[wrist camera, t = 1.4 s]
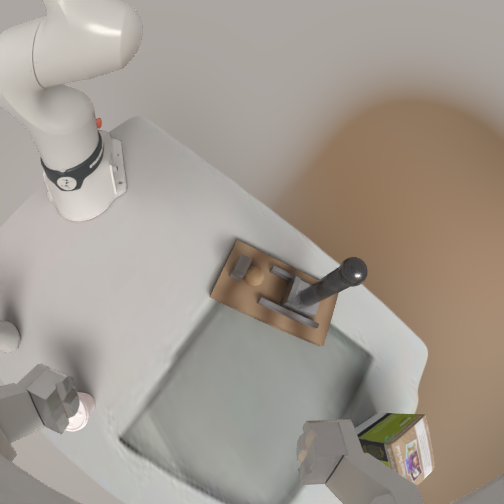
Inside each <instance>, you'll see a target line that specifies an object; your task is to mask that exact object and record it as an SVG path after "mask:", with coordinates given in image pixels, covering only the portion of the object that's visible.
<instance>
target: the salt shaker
mask: <svg viewBox="0 0 504 504" xmlns="http://www.w3.org/2000/svg"><path fill="white" fill-rule="evenodd" d="M20 341H21V338H20V335H19V333H18V330H17V329H16V327H15V326H14V325H13V324H12V323H10V322H9V321H0V350H1V351H3V352H5V353H12V352H13V351H15V350H16V349H17V348H19V344H20Z"/></svg>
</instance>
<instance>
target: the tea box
mask: <svg viewBox="0 0 504 504" xmlns="http://www.w3.org/2000/svg"><path fill="white" fill-rule="evenodd" d="M355 431H356V433H357V436H358V439H359V441H360V444H361V447H362V449H363V452H364V453H369V454H370V455H372V456H373V457H375V458H376V459H377V460H379V461H380V462H382V463H383V464H385V465H386V466H388V467H389V468H391V469H392V470H393V471H395V472H397V473H398V474H400V475H401V476H403V477H404V478H406V479H407V480H409V481H410V482H412V483H414V484H415V485H416V486H417V485H418V484H419V483H421V481H423V480H424V479H425V478H426V476H428V475H429V474H430V472H432V470H433V469H435V462H434V456H433V450H432V444H431V439H430V433H429V428H428V424H427V420H426V415H423V414H394V413H377V414H375V415H374V416H372V417H371V418H369V419H368V420H366V421H365V422H363V423H362V424H360V425H359V426H357V427H356V428H355Z"/></svg>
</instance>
